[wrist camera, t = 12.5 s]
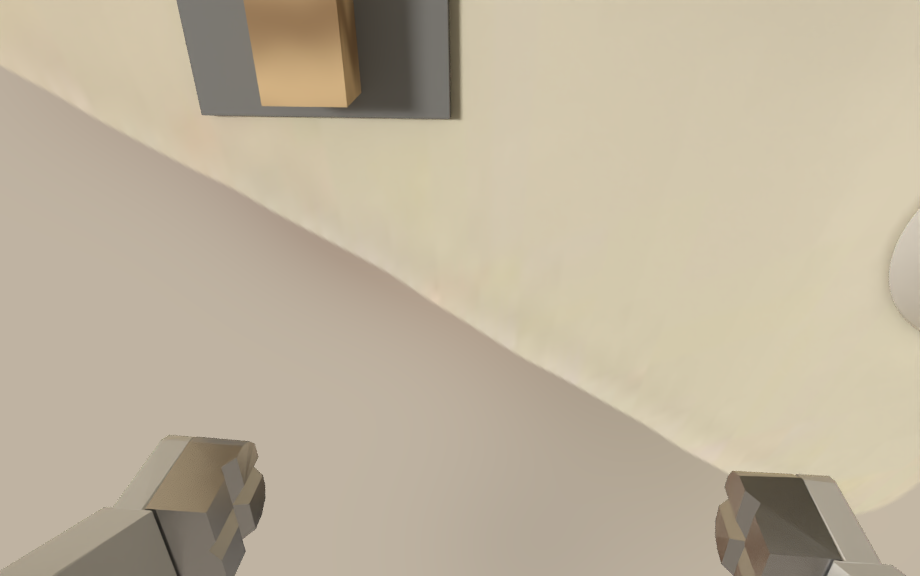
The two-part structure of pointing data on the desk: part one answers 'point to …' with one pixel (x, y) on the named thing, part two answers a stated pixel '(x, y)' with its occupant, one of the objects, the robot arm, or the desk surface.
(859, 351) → the desk surface
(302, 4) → the teal-topped wooden block
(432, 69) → the rubber mat
